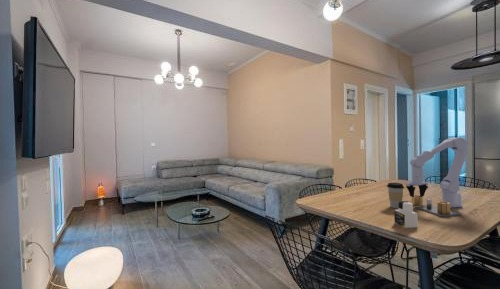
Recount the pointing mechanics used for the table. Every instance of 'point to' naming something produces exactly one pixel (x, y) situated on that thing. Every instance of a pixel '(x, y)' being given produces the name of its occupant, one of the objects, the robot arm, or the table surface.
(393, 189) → the coffee cup
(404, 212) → the medicine bottle
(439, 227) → the table surface
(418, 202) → the tan wooden cube
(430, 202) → the block
